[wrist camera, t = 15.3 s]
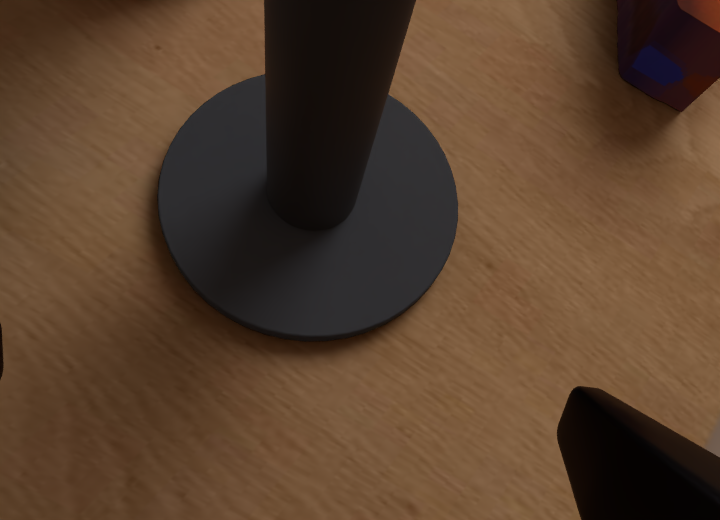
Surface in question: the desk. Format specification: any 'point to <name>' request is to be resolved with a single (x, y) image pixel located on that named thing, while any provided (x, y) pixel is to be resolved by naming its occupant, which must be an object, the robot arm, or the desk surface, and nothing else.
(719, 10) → the toy rocket
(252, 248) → the felt pad
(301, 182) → the marker
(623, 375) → the desk surface
